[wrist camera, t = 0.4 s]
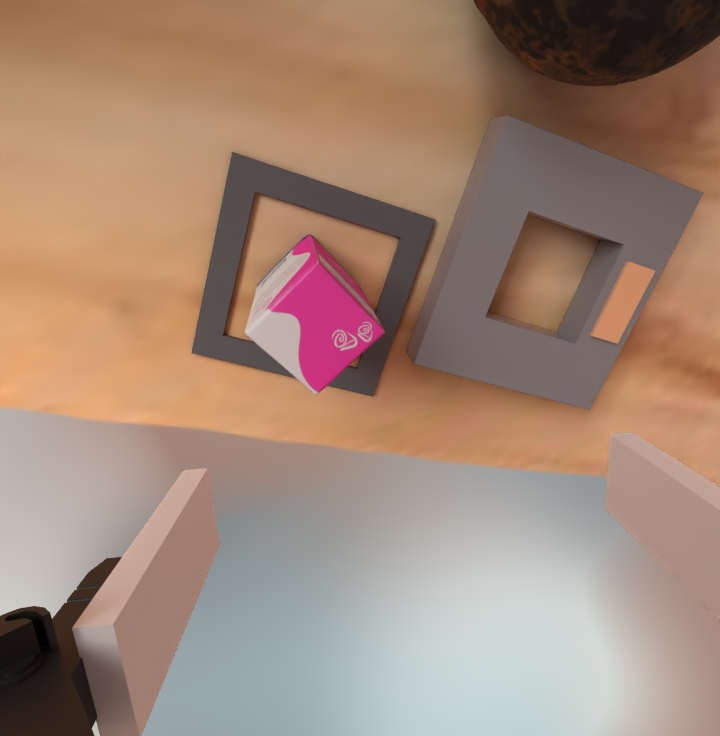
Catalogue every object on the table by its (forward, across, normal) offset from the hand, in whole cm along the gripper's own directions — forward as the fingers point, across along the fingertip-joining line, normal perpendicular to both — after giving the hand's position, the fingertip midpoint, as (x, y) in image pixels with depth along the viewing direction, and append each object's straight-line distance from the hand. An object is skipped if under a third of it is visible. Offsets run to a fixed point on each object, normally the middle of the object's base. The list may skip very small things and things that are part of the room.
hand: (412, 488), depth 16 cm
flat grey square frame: (+23, -4, +5) cm, 24 cm away
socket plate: (+24, +14, +5) cm, 28 cm away
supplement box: (+24, -4, +5) cm, 25 cm away
